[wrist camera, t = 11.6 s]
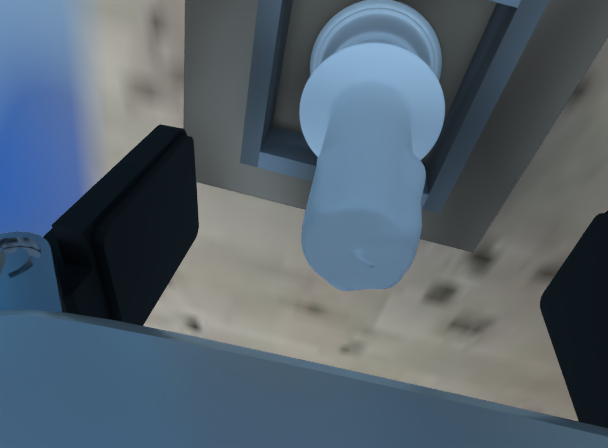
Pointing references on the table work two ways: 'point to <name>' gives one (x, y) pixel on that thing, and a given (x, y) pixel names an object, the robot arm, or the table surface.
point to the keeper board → (454, 82)
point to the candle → (369, 141)
